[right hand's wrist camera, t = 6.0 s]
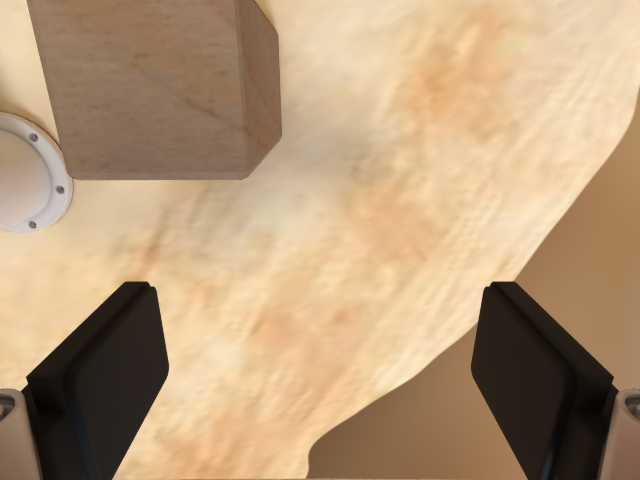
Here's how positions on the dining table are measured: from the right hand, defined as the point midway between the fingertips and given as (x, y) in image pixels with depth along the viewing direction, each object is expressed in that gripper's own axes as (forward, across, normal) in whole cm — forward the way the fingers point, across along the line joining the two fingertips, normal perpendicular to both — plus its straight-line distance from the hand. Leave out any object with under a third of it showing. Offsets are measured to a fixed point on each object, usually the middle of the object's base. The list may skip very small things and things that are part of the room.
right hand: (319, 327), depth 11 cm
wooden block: (+32, -9, +7) cm, 33 cm away
